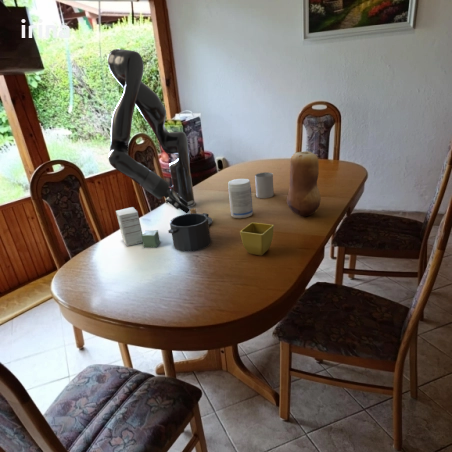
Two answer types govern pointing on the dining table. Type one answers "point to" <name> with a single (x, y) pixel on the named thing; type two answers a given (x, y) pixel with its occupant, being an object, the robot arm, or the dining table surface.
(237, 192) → the supplement tub
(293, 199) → the butternut squash
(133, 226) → the white packaging box
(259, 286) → the dining table surface
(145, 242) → the block
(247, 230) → the flower pot
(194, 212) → the lid
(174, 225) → the pot
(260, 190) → the cup
